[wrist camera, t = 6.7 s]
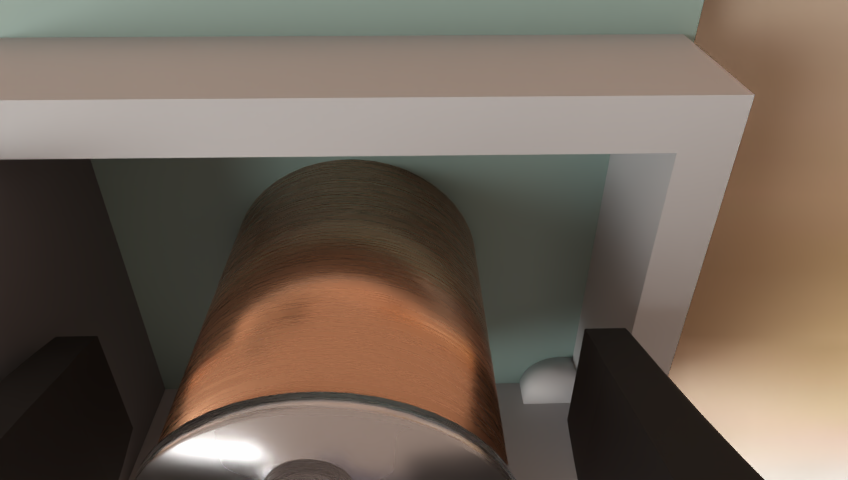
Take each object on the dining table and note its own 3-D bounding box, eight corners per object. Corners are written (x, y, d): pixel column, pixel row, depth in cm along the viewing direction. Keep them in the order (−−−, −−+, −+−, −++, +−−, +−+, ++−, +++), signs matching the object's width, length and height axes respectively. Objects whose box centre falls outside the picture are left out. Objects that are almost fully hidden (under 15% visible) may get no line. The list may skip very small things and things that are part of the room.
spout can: (485, 344, 14) (535, 684, 8) (264, 363, 14) (177, 708, 9) (475, 141, 11) (539, 455, 6) (200, 167, 11) (16, 497, 6)
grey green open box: (591, 393, 16) (655, 597, 12) (150, 400, 16) (61, 611, 12) (683, -28, 10) (863, 84, 6) (0, -27, 10) (-270, 92, 6)
